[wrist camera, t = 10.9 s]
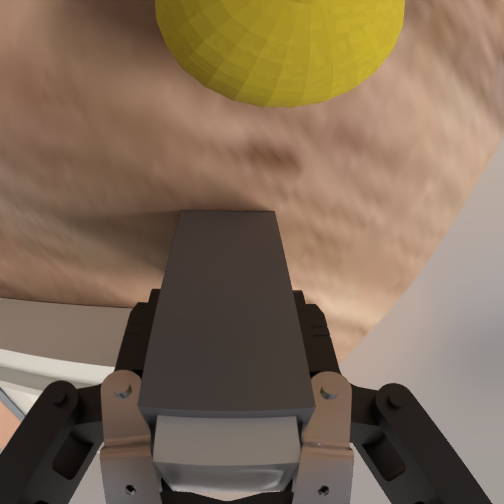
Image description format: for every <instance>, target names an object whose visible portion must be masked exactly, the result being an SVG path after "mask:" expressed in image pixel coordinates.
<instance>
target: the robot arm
mask: <svg viewBox="0 0 504 504" xmlns="http://www.w3.org/2000/svg"><path fill="white" fill-rule="evenodd" d="M160 291H161V289H152V290H151V293H150V297H149V301H148V303H146V302H138V303H137V305H136V306H135V307H134V308H133V309H132V311H131V312H130V314H129V318H128V321H127V326H126V328H125V332H124V335H123V339H122V343H121V347H120V350H119V354H118V358H117V362H116V366H115V369H114V371H113V372H112V373H111V374H109V375H108V376H107V377H106V378H105V379H104V380H103V382H102V383H101V384H98V385H95V386H89V387H84V388H78V389H76V388H75V386H74V385H73V384H72V383H70V382H68V381H64V380H58V381H54V382H52V383H50V384H49V385H48V386H47V387H46V388H45V389H44V390H43V392H42V393H41V395H40V396H39V397H38V399H37V400H36V402H35V403H34V405H33V406H32V407H31V409H30V410H29V412H28V413H27V415H26V416H25V418H24V419H23V421H22V422H21V424H20V425H19V427H18V428H17V430H16V431H15V433H14V434H13V436H12V437H11V439H10V440H9V442H8V443H7V445H6V446H5V448H4V450H3V451H2V453H1V454H0V504H68V503H69V501H70V499H71V498H72V496H73V494H74V492H75V490H76V488H77V487H78V485H79V483H80V481H81V480H82V478H83V476H84V474H85V472H86V471H87V469H88V467H89V465H90V464H91V462H92V460H93V458H94V456H95V455H96V453H97V451H98V450H99V448H100V446H101V444H102V443H103V442H104V447H102V448H101V450H100V464H101V472H102V479H103V486H104V493H105V499H106V504H350V496H351V486H352V477H353V465H354V453H353V450H352V449H351V448H350V446H349V442H350V443H353V444H354V446H355V447H356V449H357V450H358V452H359V454H360V455H361V457H362V458H363V460H364V462H365V463H366V465H367V466H368V468H369V469H370V471H371V472H372V474H373V476H374V477H375V479H376V480H377V482H378V483H379V485H380V486H381V488H382V489H383V491H384V493H385V494H386V496H387V497H388V499H389V500H390V502H391V503H392V504H492V503H491V501H490V500H489V498H488V497H487V496H486V494H485V493H484V491H483V490H482V488H481V487H480V485H479V484H478V483H477V481H476V480H475V478H474V477H473V475H472V474H471V473H470V471H469V470H468V468H467V467H466V466H465V464H464V463H463V461H462V460H461V459H460V457H459V456H458V454H457V453H456V452H455V450H454V449H453V448H452V446H451V445H450V444H449V442H448V441H447V439H446V438H445V437H444V435H443V434H442V433H441V431H440V430H439V429H438V427H437V426H436V425H435V423H434V422H433V421H432V420H431V418H430V417H429V415H428V414H427V413H426V411H425V410H424V409H423V407H422V406H421V405H420V403H419V402H418V401H417V399H416V398H415V397H414V396H413V394H412V393H411V392H410V391H409V389H407V388H406V387H404V386H403V385H400V384H396V383H391V384H386V385H384V386H383V387H382V388H380V389H379V391H378V390H371V389H366V388H361V387H357V386H355V385H353V384H351V383H349V382H348V380H347V379H346V378H345V377H344V376H342V374H341V372H340V370H339V366H338V362H337V359H336V355H335V351H334V348H333V344H332V340H331V337H330V333H329V330H328V328H327V323H326V319H325V316H324V313H323V312H322V311H321V310H320V309H319V307H318V306H317V305H316V304H306V303H305V299H304V295H303V292H302V290H293V295H294V300H295V305H296V309H297V314H298V319H299V324H300V328H301V333H302V338H303V343H304V348H305V353H306V358H307V363H308V368H309V373H310V378H311V384H312V389H313V394H314V399H315V405H316V408H315V410H314V413H313V415H312V417H311V419H310V421H309V422H303V424H302V426H301V429H300V434H299V442H300V449H301V455H300V461H299V463H298V465H297V466H296V468H295V470H294V471H293V473H292V474H291V476H290V477H289V479H288V480H287V482H286V483H285V485H284V486H283V488H282V489H281V490H280V492H267V493H260V494H257V495H253V496H249V497H245V498H241V499H237V500H233V501H222V500H218V499H214V498H209V497H206V496H202V495H199V494H195V493H191V492H177V491H176V490H175V489H174V487H173V486H172V485H171V484H170V482H169V481H168V480H167V479H166V477H165V476H164V475H163V474H162V472H161V471H160V470H159V468H158V467H157V466H156V464H155V463H154V462H153V452H154V442H155V438H154V436H153V430H152V427H151V425H150V423H149V421H145V420H144V418H143V416H142V415H141V413H140V411H139V409H138V407H137V404H138V398H139V392H140V386H141V381H142V375H143V370H144V365H145V360H146V355H147V350H148V345H149V340H150V335H151V330H152V326H153V321H154V317H155V312H156V308H157V303H158V299H159V295H160ZM131 494H132V495H131Z"/></svg>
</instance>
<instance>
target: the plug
mask: <svg viewBox="0 0 504 504" xmlns="http://www.w3.org/2000/svg"><path fill="white" fill-rule="evenodd" d="M137 407H138V409H139V411H140V413H141V415H142V416H143V418H144V420H145V421H149V423H150V425H151V427H152V430H153V436H154V438H155V442H154V452H153V462H154V463H155V464H156V466H157V467H158V468H159V470H160V471H161V472H162V474H163V475H164V476H165V477H166V479H167V480H168V481H169V482H170V484H171V485H172V486H173V487H174V489H175V490H180V491H196V492H263V491H278V490H281V489H282V488H283V486H284V485H285V483H286V482H287V480H288V479H289V477H290V476H291V474H292V473H293V471H294V470H295V468H296V466H297V465H298V463H299V461H300V455H301V449H300V442H299V434H300V429H301V426H302V424H303V422H309V421H310V419H311V417H312V415H313V413H314V410H315V408H316V405H315V399H314V394H313V389H312V384H311V378H310V373H309V368H308V363H307V358H306V353H305V348H304V343H303V338H302V333H301V328H300V324H299V319H298V314H297V309H296V305H295V300H294V295H293V290H292V286H291V281H290V277H289V272H288V268H287V263H286V259H285V254H284V250H283V245H282V241H281V236H280V232H279V228H278V223H277V219H276V215H275V212H263V211H181V214H180V218H179V221H178V225H177V228H176V232H175V236H174V239H173V243H172V247H171V251H170V254H169V258H168V262H167V266H166V270H165V274H164V278H163V282H162V286H161V291H160V295H159V299H158V303H157V308H156V312H155V317H154V321H153V326H152V330H151V335H150V340H149V345H148V350H147V355H146V360H145V365H144V370H143V375H142V381H141V386H140V392H139V398H138V404H137Z"/></svg>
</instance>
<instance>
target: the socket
mask: <svg viewBox="0 0 504 504" xmlns="http://www.w3.org/2000/svg"><path fill="white" fill-rule="evenodd" d="M132 309H133V308H114V307H98V306H83V305H70V304H58V303H46V302H36V301H26V300H16V299H7V298H0V390H1V391H2V392H3V393H4V394H5V396H6V397H7V398H8V399H9V400H10V401H11V402H12V403H13V404H14V405H15V406H16V407H17V408H18V410H19V411H20V412H21V413H22V414H23V415H24V416H26V415H27V413H28V412H29V410H30V409H31V407H32V406H33V405H34V403H35V402H36V400H37V399H38V397H39V396H40V395H41V393H42V392H43V390H44V389H45V388H46V387H47V386H48V385H49V384H50V383H52V382H54V381H58V380H64V381H68V382H70V383H72V384H73V385H74V386H75V388H76V389H78V388H84V387H89V386H95V385H98V384H101V383H102V382H103V380H104V379H105V378H106V377H107V376H108V375H109V374H111V373H112V372H113V371H114V369H115V366H116V362H117V358H118V354H119V350H120V347H121V343H122V339H123V335H124V332H125V328H126V326H127V321H128V318H129V314H130V312H131V311H132ZM102 447H104V442H103V443H102V444H101V446H100V448H99V450H98V451H97V453H99V454H100V450H101V448H102Z"/></svg>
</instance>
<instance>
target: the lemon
mask: <svg viewBox="0 0 504 504" xmlns="http://www.w3.org/2000/svg"><path fill="white" fill-rule="evenodd" d="M404 7H405V0H155V11H156V21H157V23H158V26H159V29H160V31H161V34H162V36H163V39H164V42H165V44H166V47H167V48H168V50H169V51H170V52H171V53H172V55H173V56H174V57H175V59H176V60H177V61H178V63H179V64H180V65H181V67H182V68H183V69H184V70H185V71H186V72H188V73H189V74H190V75H191V76H193V77H194V78H195V79H196V80H198V81H199V82H200V83H201V84H203V85H204V86H205V87H207V88H209V89H211V90H213V91H215V92H217V93H219V94H221V95H223V96H225V97H227V98H229V99H231V100H235V101H239V102H243V103H248V104H252V105H256V106H260V107H288V108H292V107H298V106H303V105H309V104H315V103H320V102H324V101H326V100H329V99H331V98H333V97H336V96H338V95H341V94H343V93H345V92H348V91H350V90H352V89H353V88H355V87H356V86H357V85H359V84H360V83H361V82H363V81H364V80H365V79H367V78H368V77H369V76H371V75H372V74H373V73H375V72H376V71H377V69H378V68H379V67H380V66H381V64H382V63H383V62H384V60H385V59H386V58H387V57H388V55H389V54H390V53H391V52H392V50H393V48H394V46H395V43H396V41H397V38H398V36H399V33H400V31H401V28H402V26H403V18H404Z"/></svg>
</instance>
